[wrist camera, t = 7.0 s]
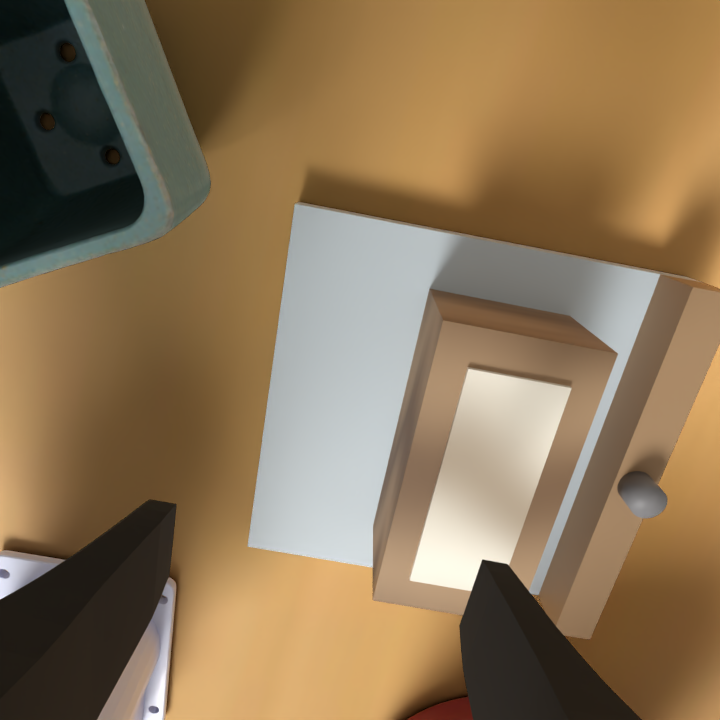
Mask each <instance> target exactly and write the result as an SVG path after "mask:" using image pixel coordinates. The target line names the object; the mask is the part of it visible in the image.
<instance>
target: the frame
mask: <svg viewBox="0 0 720 720" xmlns="http://www.w3.org/2000/svg"><path fill="white" fill-rule="evenodd" d="M617 356H618V353H617V352H615V351H614V350H613V349H612V348H610V347H609V346H608V345H606V344H605V343H604V342H603V341H601V340H600V339H599V338H598V337H596V336H595V335H594V334H592V333H591V332H590V331H589V330H587V329H586V328H585V327H583V326H582V325H581V324H580V323H578V322H577V321H576V320H575V319H573V318H572V317H571V316H569V315H564V314H558V313H553V312H548V311H543V310H538V309H533V308H527V307H522V306H517V305H512V304H507V303H501V302H496V301H491V300H486V299H481V298H476V297H470V296H465V295H460V294H455V293H450V292H445V291H439V290H434V289H429V292H428V296H427V301H426V305H425V309H424V313H423V317H422V322H421V326H420V330H419V334H418V339H417V343H416V347H415V351H414V355H413V360H412V364H411V368H410V372H409V376H408V381H407V385H406V389H405V393H404V397H403V402H402V406H401V410H400V414H399V418H398V423H397V427H396V431H395V435H394V439H393V444H392V448H391V452H390V456H389V461H388V465H387V469H386V473H385V477H384V482H383V486H382V490H381V494H380V498H379V503H378V507H377V511H376V515H375V519H374V524H373V600H374V601H380V602H386V603H392V604H398V605H404V606H410V607H415V608H421V609H427V610H433V611H439V612H445V613H451V614H457V615H463V614H464V611H465V608H466V605H467V602H468V599H469V597H470V594H471V591H472V588H473V585H474V582H475V579H476V576H477V573H478V570H479V567H480V564H481V562H482V559H483V560H489V561H494V562H500V563H505V564H508V565H509V566H510V568H511V569H512V570H513V571H514V573H515V574H516V575H517V576H518V578H519V579H520V580H521V582H522V583H523V584H524V586H525V587H526V588H527V589H528V591H529V589H530V587H531V584H532V581H533V579H534V576H535V573H536V571H537V568H538V565H539V563H540V560H541V557H542V555H543V552H544V549H545V547H546V544H547V541H548V539H549V536H550V533H551V531H552V528H553V526H554V523H555V520H556V518H557V515H558V512H559V510H560V507H561V504H562V502H563V499H564V496H565V494H566V491H567V488H568V486H569V483H570V480H571V478H572V475H573V472H574V470H575V467H576V464H577V462H578V459H579V456H580V454H581V451H582V449H583V446H584V443H585V441H586V438H587V435H588V433H589V430H590V427H591V425H592V422H593V419H594V417H595V414H596V411H597V409H598V406H599V403H600V401H601V398H602V395H603V393H604V390H605V387H606V385H607V382H608V380H609V377H610V374H611V372H612V369H613V366H614V364H615V361H616V358H617Z"/></svg>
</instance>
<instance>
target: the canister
mask: <svg viewBox="0 0 720 720" xmlns="http://www.w3.org/2000/svg"><path fill="white" fill-rule="evenodd" d="M407 720H473V717H472V712H471V707H470V702H469V697H463V698H458V699H454V700H450V701H447V702H443V703H440V704H437V705H434V706H432V707H429V708H427V709H425V710H423V711H421V712H419V713H417V714H415V715H414V716H412V717H410V718H408V719H407Z"/></svg>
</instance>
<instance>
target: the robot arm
mask: <svg viewBox="0 0 720 720" xmlns="http://www.w3.org/2000/svg"><path fill="white" fill-rule="evenodd" d="M176 505H177V504H173V503H167V502H162V501H156V500H151V499H150V500H148V501H147V502H145V503H144V504H142V505H141V506H140V507H138V508H137V509H136V510H134V511H133V512H132V513H131V514H129V515H128V516H127V517H125V518H124V519H123V520H121V521H120V522H119V523H117V524H116V525H115V526H113V527H112V528H111V529H109V530H108V531H107V532H105V533H104V534H102V535H101V536H100V537H98V538H97V539H95V540H94V541H93V542H91V543H90V544H88V545H87V546H85V547H84V548H83V549H81V550H80V551H78V552H77V553H75V554H74V555H73V556H71V557H70V558H68V559H66V560H63V559H57V558H51V557H45V556H39V555H33V554H27V553H21V552H15V551H9V550H3V551H1V552H0V720H165V716H166V705H167V693H168V681H169V669H170V658H171V646H172V634H173V622H174V611H175V599H176V583H175V581H174V580H173V579H171V578H170V577H169V575H170V565H171V555H172V545H173V535H174V525H175V515H176ZM6 570H7V571H6ZM161 595H164V596H166V598H165V597H162V596H161ZM460 639H461V653H462V663H463V672H464V677H465V683H466V688H467V692H468V697H469V702H470V707H471V712H472V717H473V720H642V719H641V718H640V717H639V716H637V715H636V714H635V713H634V712H633V711H632V710H631V709H630V708H629V707H628V706H627V705H626V704H625V703H624V702H623V701H622V700H621V699H620V698H619V697H618V696H617V695H616V694H615V693H614V692H613V691H612V690H611V688H610V687H609V686H608V685H607V684H606V683H605V682H604V681H603V680H602V679H601V678H600V677H599V676H598V674H597V673H596V672H595V671H594V670H593V669H592V668H591V667H590V666H589V664H588V663H587V662H586V661H585V660H584V659H583V658H582V657H581V655H580V654H579V653H578V652H577V651H576V650H575V648H574V647H573V646H572V645H571V644H570V642H569V641H568V640H567V639H566V638H565V636H564V635H563V634H562V633H561V632H560V630H559V629H558V628H557V627H556V625H555V624H554V623H553V622H552V620H551V619H550V618H549V617H548V615H547V614H546V613H545V611H544V610H543V609H542V608H541V606H540V605H539V604H538V602H537V601H536V600H535V599H534V597H533V596H532V595H531V593H530V592H529V591H528V589H527V588H526V587H525V586H524V584H523V583H522V582H521V580H520V579H519V578H518V576H517V575H516V574H515V573H514V571H513V570H512V569H511V568H510V566H509V565H508V564H505V563H500V562H494V561H489V560H483V559H482V562H481V564H480V567H479V570H478V573H477V576H476V579H475V582H474V585H473V588H472V591H471V594H470V597H469V599H468V602H467V605H466V608H465V611H464V614H463V617H462V620H461V623H460Z"/></svg>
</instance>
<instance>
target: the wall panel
mask: <svg viewBox="0 0 720 720" xmlns="http://www.w3.org/2000/svg"><path fill="white" fill-rule="evenodd" d="M429 289H434V290H439V291H445V292H450V293H455V294H460V295H465V296H470V297H476V298H481V299H486V300H491V301H496V302H501V303H507V304H512V305H517V306H522V307H527V308H533V309H538V310H543V311H548V312H553V313H558V314H564V315H569V316H571V317H572V318H573V319H575V320H576V321H577V322H578V323H580V324H581V325H582V326H583V327H585V328H586V329H587V330H589V331H590V332H591V333H592V334H594V335H595V336H596V337H598V338H599V339H600V340H601V341H603V342H604V343H605V344H606V345H608V346H609V347H610V348H612V349H613V350H614V351H615V352H617V353H618V356H617V358H616V361H615V364H614V366H613V369H612V372H611V374H610V377H609V380H608V382H607V385H606V387H605V390H604V393H603V395H602V398H601V401H600V403H599V406H598V409H597V411H596V414H595V417H594V419H593V422H592V425H591V427H590V430H589V433H588V435H587V438H586V441H585V443H584V446H583V449H582V451H581V454H580V456H579V459H578V462H577V464H576V467H575V470H574V472H573V475H572V478H571V480H570V483H569V486H568V488H567V491H566V494H565V496H564V499H563V502H562V504H561V507H560V510H559V512H558V515H557V518H556V520H555V523H554V526H553V528H552V531H551V533H550V536H549V539H548V541H547V544H546V547H545V549H544V552H543V555H542V557H541V560H540V563H539V565H538V568H537V571H536V573H535V576H534V579H533V581H532V584H531V587H530V589H529V592H530V593H531V594H534V595H538V596H539V598H540V601H541V603H542V606H543V609H544V611H545V613H546V614H547V615H548V617H549V618H550V619H551V620H552V622H553V623H554V624H555V625H556V627H557V628H558V629H559V630H560V632H561V633H562V634H563V635H564V636H570V637H576V638H582V639H589V640H590V639H591V636H592V634H593V632H594V629H595V627H596V625H597V623H598V620H599V618H600V616H601V613H602V611H603V609H604V607H605V604H606V602H607V600H608V597H609V595H610V593H611V591H612V588H613V586H614V584H615V581H616V579H617V577H618V575H619V572H620V570H621V568H622V565H623V563H624V561H625V559H626V556H627V554H628V552H629V549H630V547H631V545H632V543H633V540H634V538H635V536H636V533H637V531H638V529H639V527H640V524H641V522H642V520H643V518H652V517H655V516H657V515H659V514H660V513H661V512H662V511H663V510H664V509H665V507H666V505H667V496H666V494H665V493H664V492H663V490H662V489H661V488H660V487H659V486H658V483H659V481H660V479H661V476H662V474H663V472H664V470H665V467H666V465H667V463H668V460H669V458H670V456H671V454H672V451H673V449H674V447H675V444H676V442H677V440H678V438H679V435H680V433H681V431H682V428H683V426H684V424H685V422H686V419H687V417H688V415H689V412H690V410H691V408H692V406H693V403H694V401H695V399H696V396H697V394H698V392H699V390H700V387H701V385H702V383H703V380H704V378H705V376H706V374H707V371H708V369H709V367H710V365H711V362H712V360H713V358H714V355H715V353H716V351H717V349H718V346H719V344H720V289H719V288H716V287H714V286H711V285H708V284H705V283H703V282H700V281H697V280H694V279H692V278H689V277H686V276H680V275H675V274H670V273H665V272H660V271H654V270H649V269H644V268H639V267H634V266H629V265H623V264H618V263H613V262H608V261H603V260H598V259H592V258H587V257H582V256H577V255H572V254H567V253H561V252H556V251H551V250H546V249H541V248H535V247H530V246H525V245H520V244H515V243H510V242H504V241H499V240H494V239H489V238H484V237H479V236H473V235H468V234H463V233H458V232H453V231H447V230H442V229H437V228H432V227H427V226H422V225H416V224H411V223H406V222H401V221H396V220H391V219H385V218H380V217H375V216H370V215H365V214H360V213H354V212H349V211H344V210H339V209H334V208H328V207H323V206H318V205H313V204H308V203H303V202H297V203H295V206H294V213H293V221H292V228H291V235H290V242H289V250H288V257H287V264H286V271H285V279H284V286H283V293H282V300H281V308H280V315H279V322H278V329H277V337H276V344H275V351H274V358H273V366H272V373H271V380H270V387H269V395H268V402H267V409H266V416H265V424H264V431H263V438H262V445H261V453H260V460H259V467H258V474H257V482H256V489H255V496H254V503H253V511H252V518H251V525H250V532H249V540H248V547H253V548H259V549H265V550H271V551H277V552H283V553H289V554H295V555H301V556H307V557H313V558H319V559H325V560H331V561H337V562H343V563H349V564H355V565H361V566H367V567H373V524H374V519H375V515H376V511H377V507H378V503H379V498H380V494H381V490H382V486H383V482H384V477H385V473H386V469H387V465H388V461H389V456H390V452H391V448H392V444H393V439H394V435H395V431H396V427H397V423H398V418H399V414H400V410H401V406H402V402H403V397H404V393H405V389H406V385H407V381H408V376H409V372H410V368H411V364H412V360H413V355H414V351H415V347H416V343H417V339H418V334H419V330H420V326H421V322H422V317H423V313H424V309H425V305H426V301H427V296H428V292H429Z"/></svg>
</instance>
